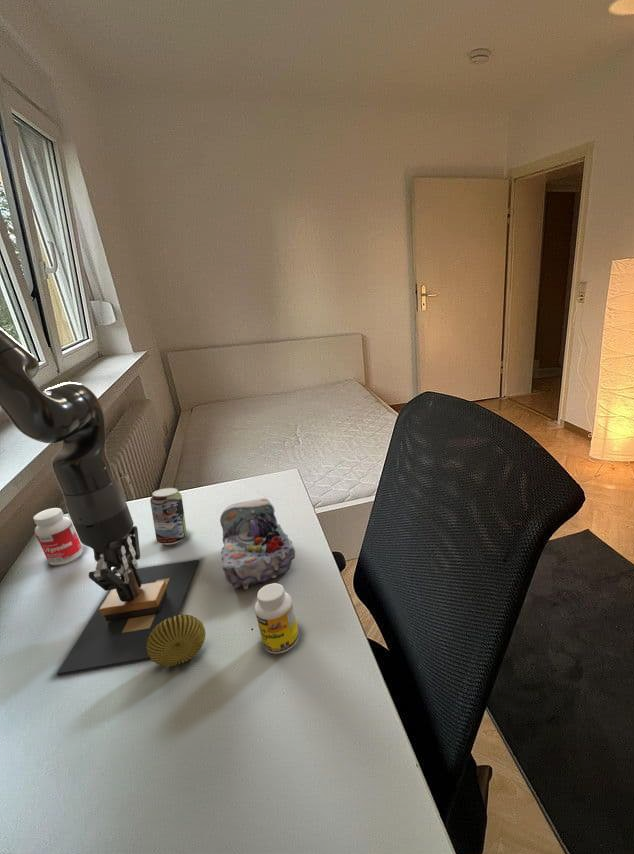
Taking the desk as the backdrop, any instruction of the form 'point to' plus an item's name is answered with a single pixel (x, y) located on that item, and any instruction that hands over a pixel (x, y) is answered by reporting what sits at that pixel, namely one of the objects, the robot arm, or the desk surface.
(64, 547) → the pill bottle
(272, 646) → the supplement bottle
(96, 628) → the mat
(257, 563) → the cell model
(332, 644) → the desk surface
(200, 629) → the sculpture
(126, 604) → the brush
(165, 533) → the beverage can
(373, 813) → the desk surface
